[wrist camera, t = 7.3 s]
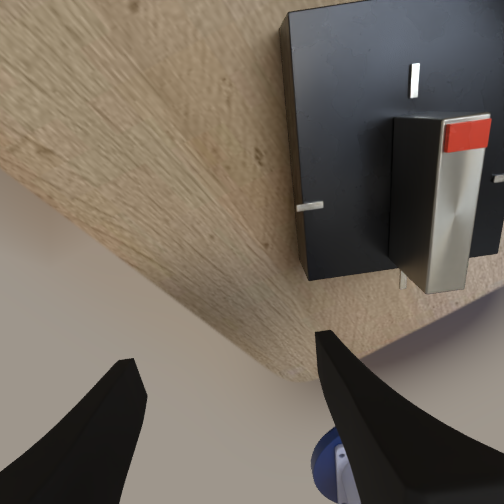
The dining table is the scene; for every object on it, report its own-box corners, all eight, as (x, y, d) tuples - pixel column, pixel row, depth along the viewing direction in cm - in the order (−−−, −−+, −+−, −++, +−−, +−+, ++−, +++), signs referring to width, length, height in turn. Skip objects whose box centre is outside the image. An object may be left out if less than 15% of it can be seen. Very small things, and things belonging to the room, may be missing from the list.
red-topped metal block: (419, 254, 18) (468, 292, 15) (387, 258, 18) (428, 298, 15) (431, 111, 15) (497, 111, 12) (393, 116, 15) (446, 118, 12)
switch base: (467, 253, 22) (502, 274, 19) (295, 278, 22) (304, 303, 19) (503, -7, 16) (561, -32, 13) (271, 29, 16) (279, 12, 14)
